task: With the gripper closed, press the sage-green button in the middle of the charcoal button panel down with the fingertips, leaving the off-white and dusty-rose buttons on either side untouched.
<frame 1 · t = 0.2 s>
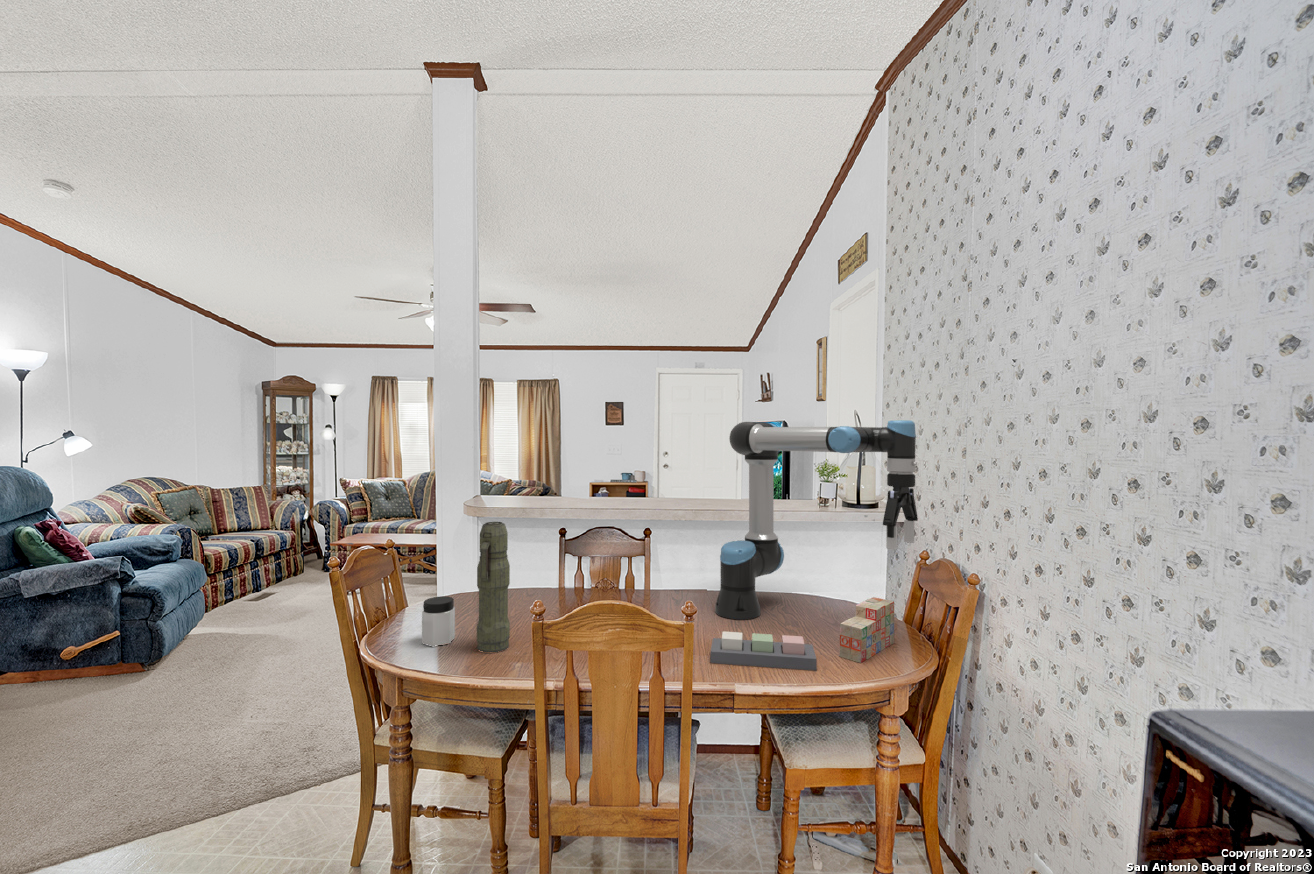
hand: (900, 545, 162), 28 cm above the table, fingers open, 13 cm apart
rose button: (792, 646, 147), point 4 cm above the table, slide at 0.0 cm
button panel: (762, 659, 148), on the table
stack of blocks: (867, 650, 155), on the table
sage button: (762, 644, 148), point 4 cm above the table, slide at 0.0 cm
white button: (732, 642, 149), point 4 cm above the table, slide at 0.0 cm
jar: (438, 642, 159), on the table
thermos: (493, 648, 155), on the table
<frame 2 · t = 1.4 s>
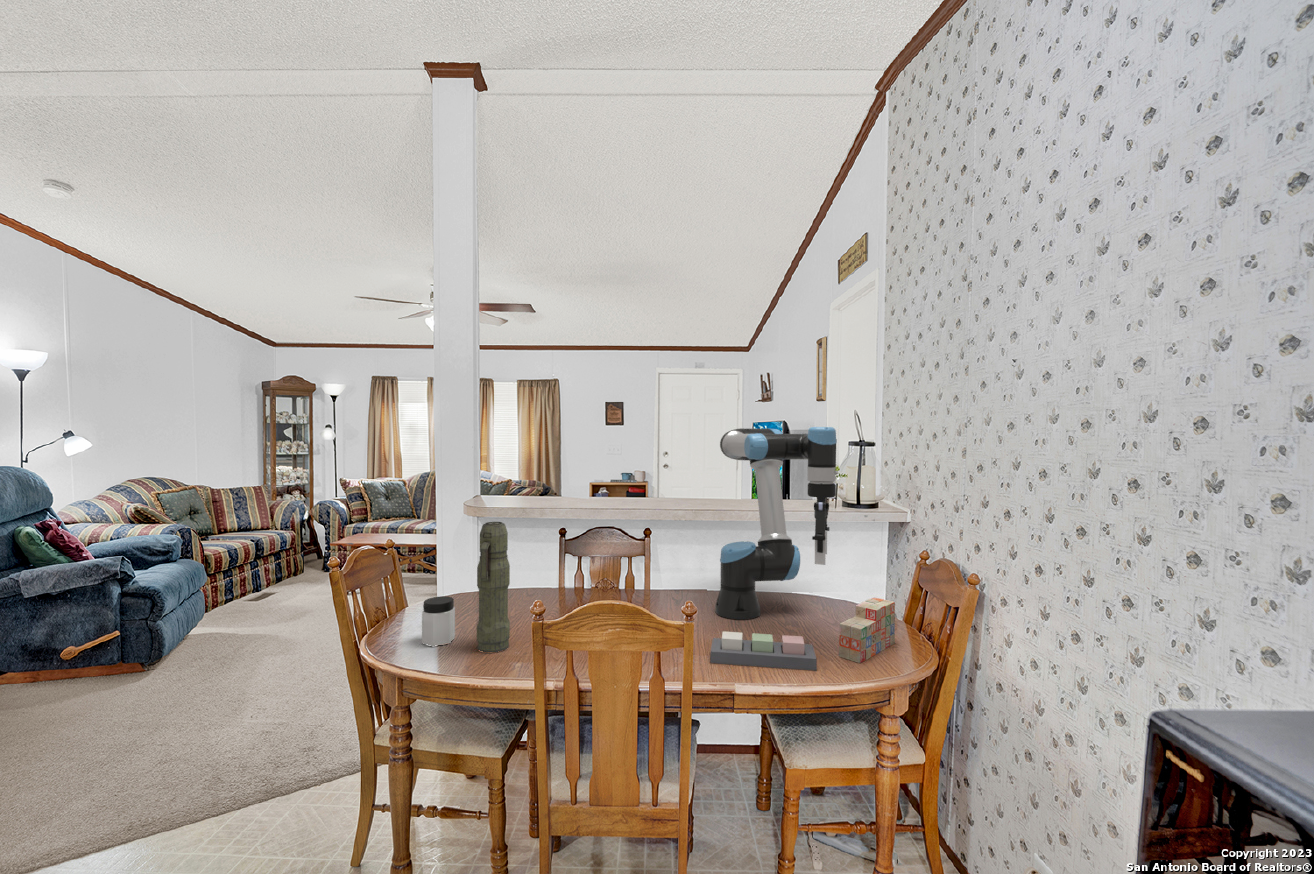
hand: (821, 558, 153), 26 cm above the table, fingers open, 13 cm apart
nothing on the table moved.
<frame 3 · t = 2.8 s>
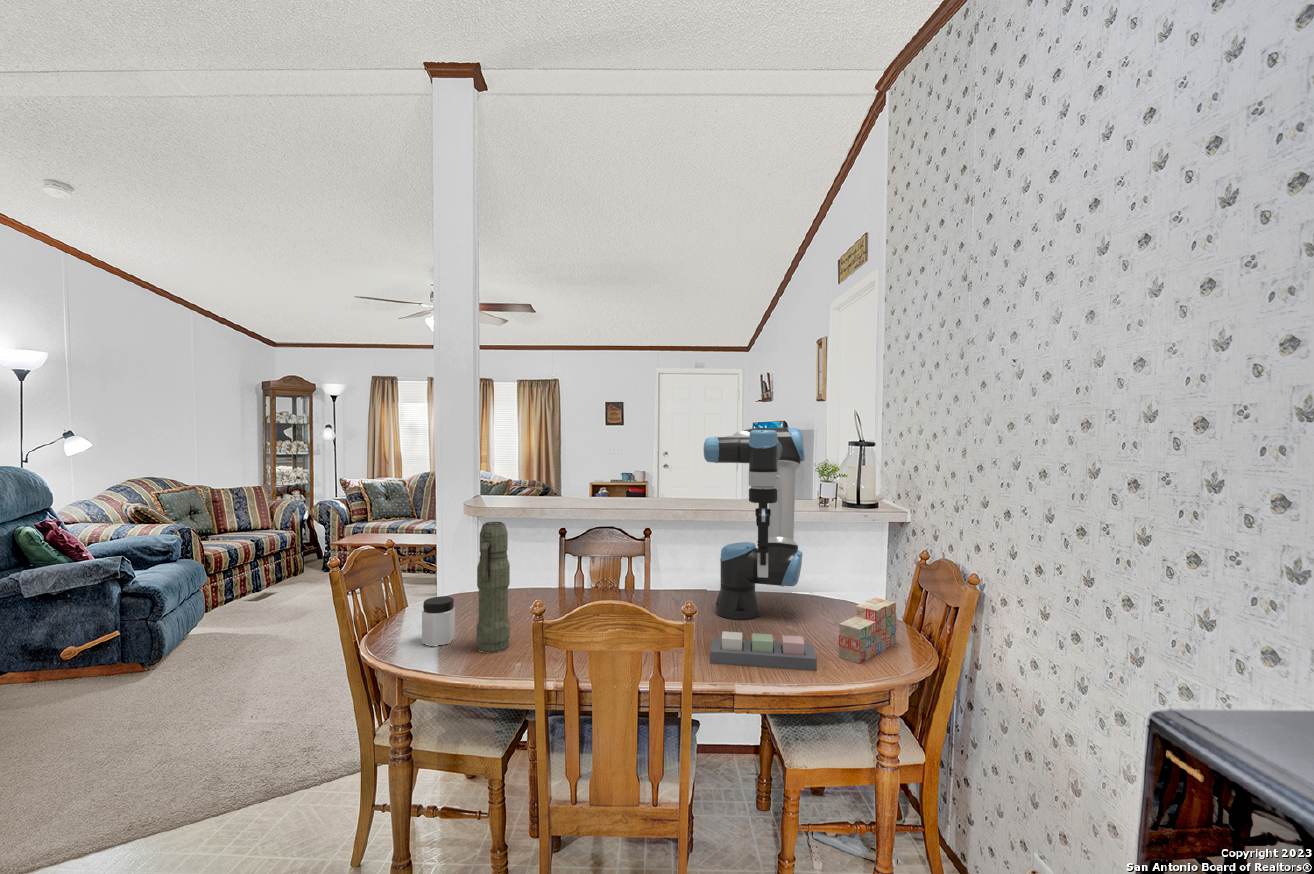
hand: (762, 574, 148), 23 cm above the table, fingers open, 4 cm apart
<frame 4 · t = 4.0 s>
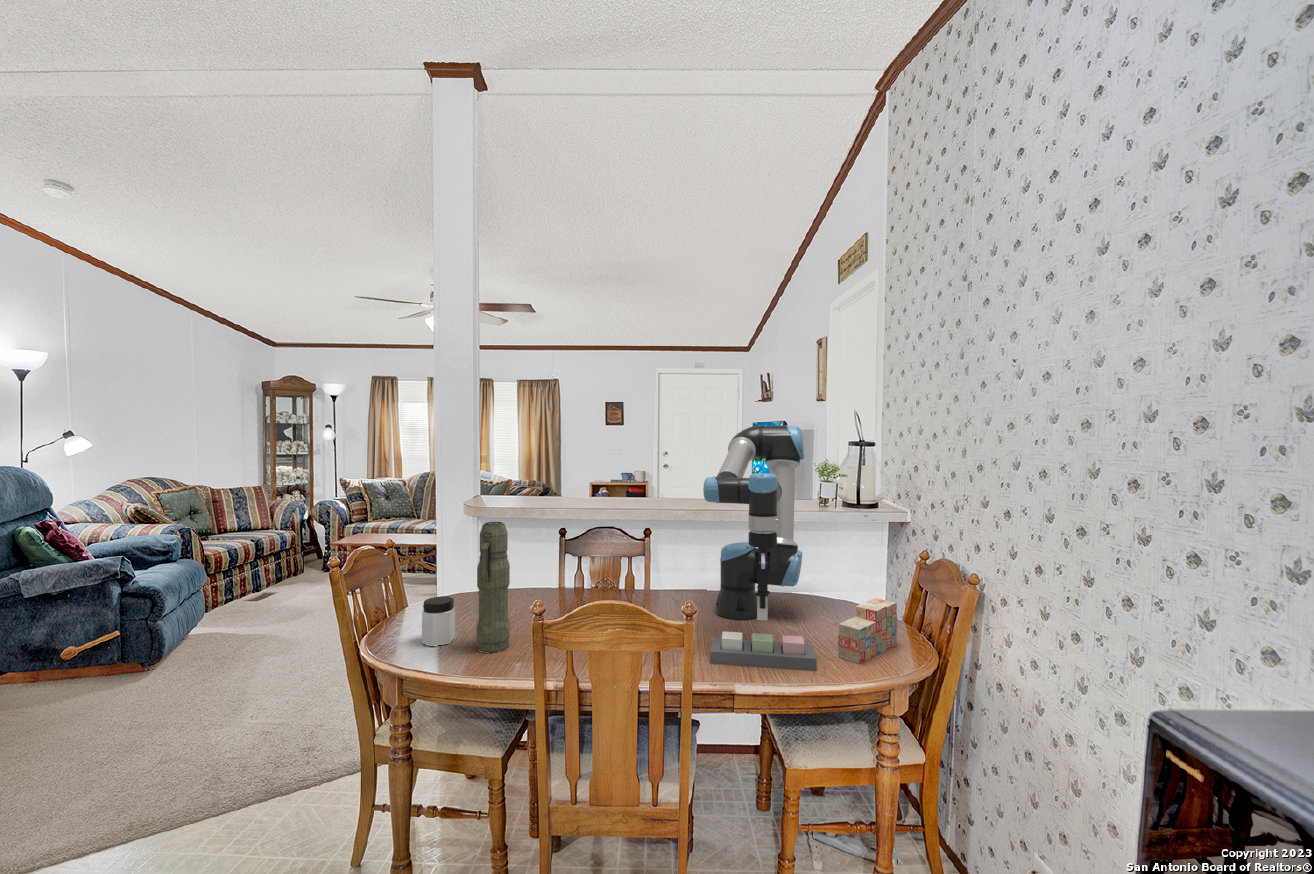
hand: (762, 619, 148), 11 cm above the table, fingers closed
nothing on the table moved.
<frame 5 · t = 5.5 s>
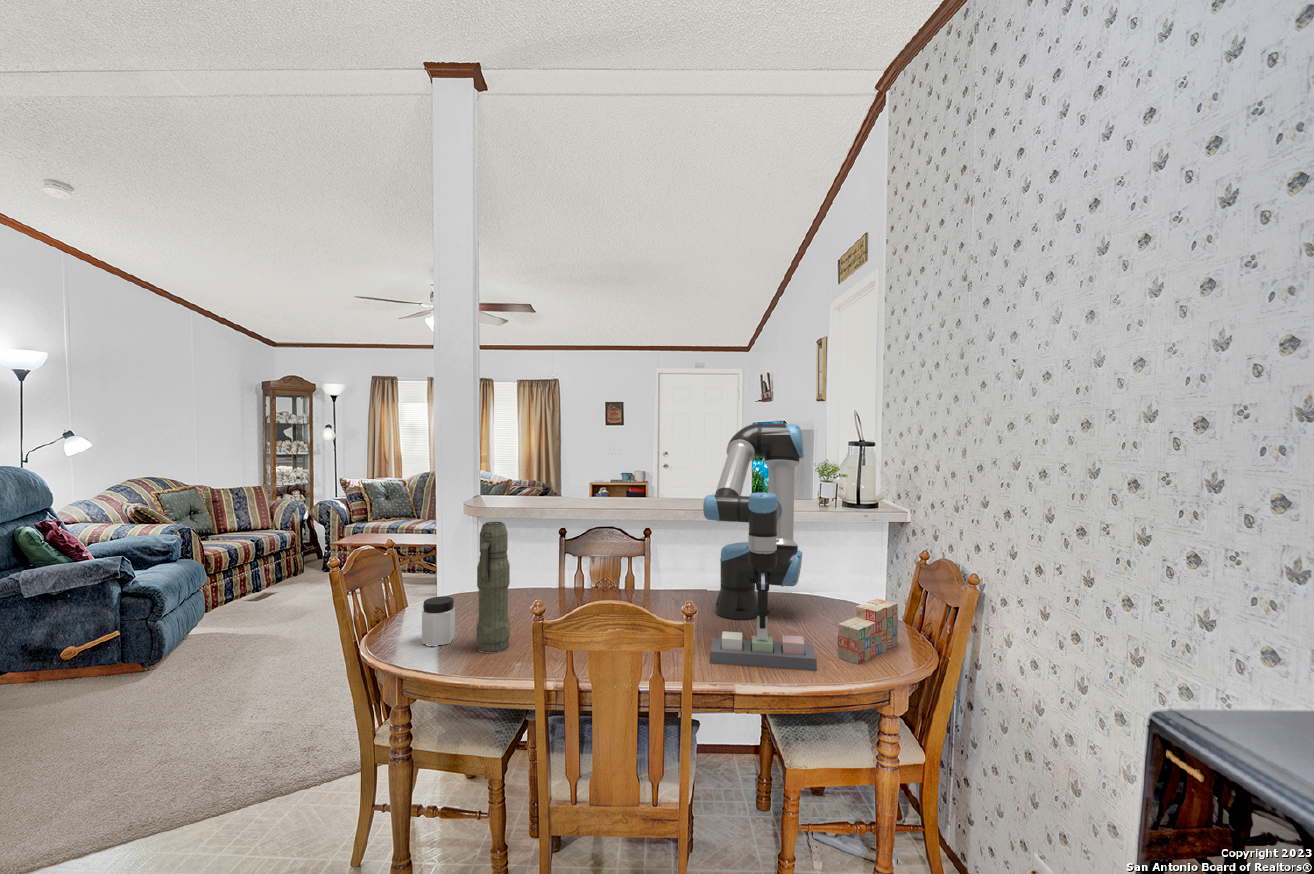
hand: (762, 638, 148), 5 cm above the table, fingers closed
sage button: (762, 647, 148), point 3 cm above the table, slide at 0.7 cm, touching gripper
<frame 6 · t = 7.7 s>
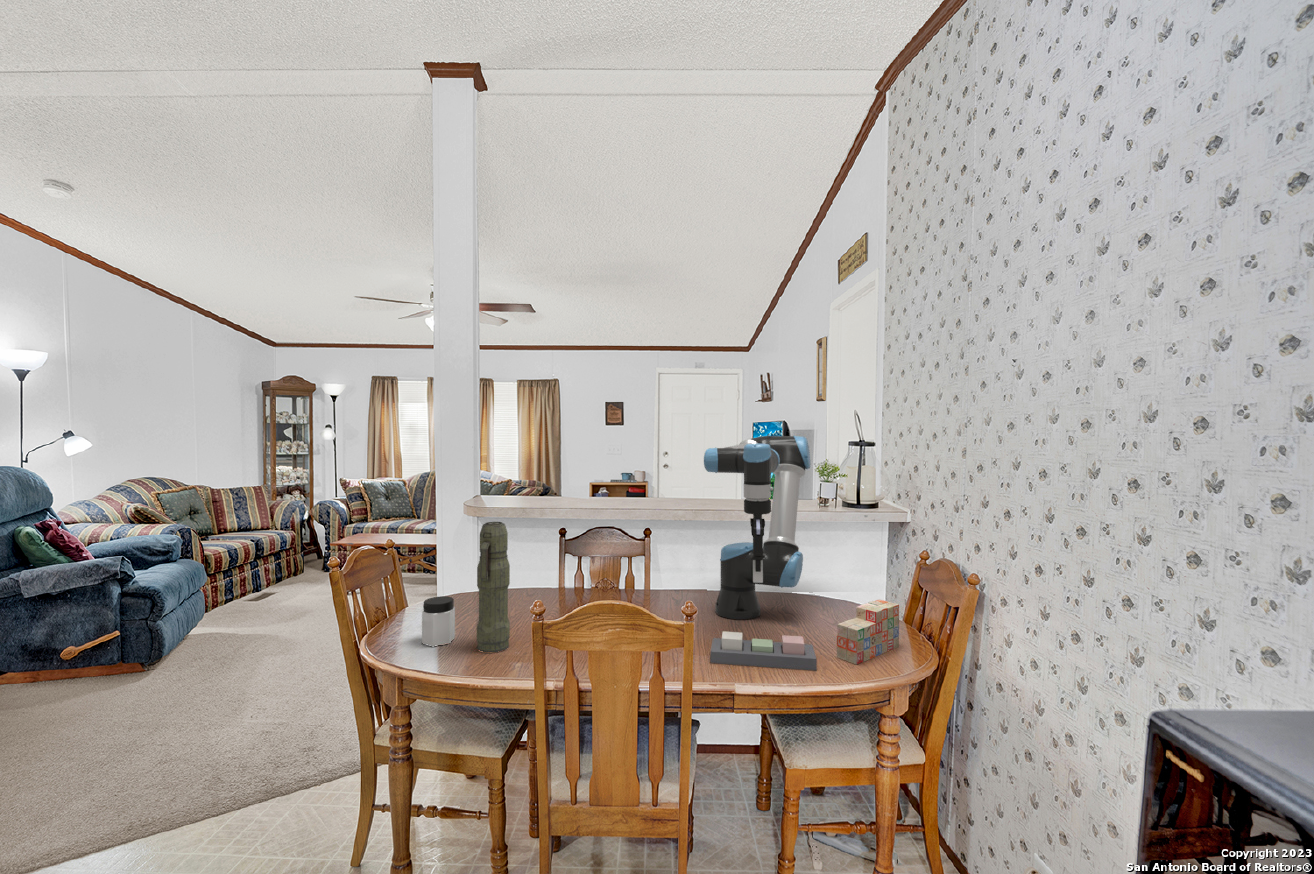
hand: (757, 581, 156), 19 cm above the table, fingers closed
sage button: (762, 650, 148), point 2 cm above the table, slide at 1.4 cm
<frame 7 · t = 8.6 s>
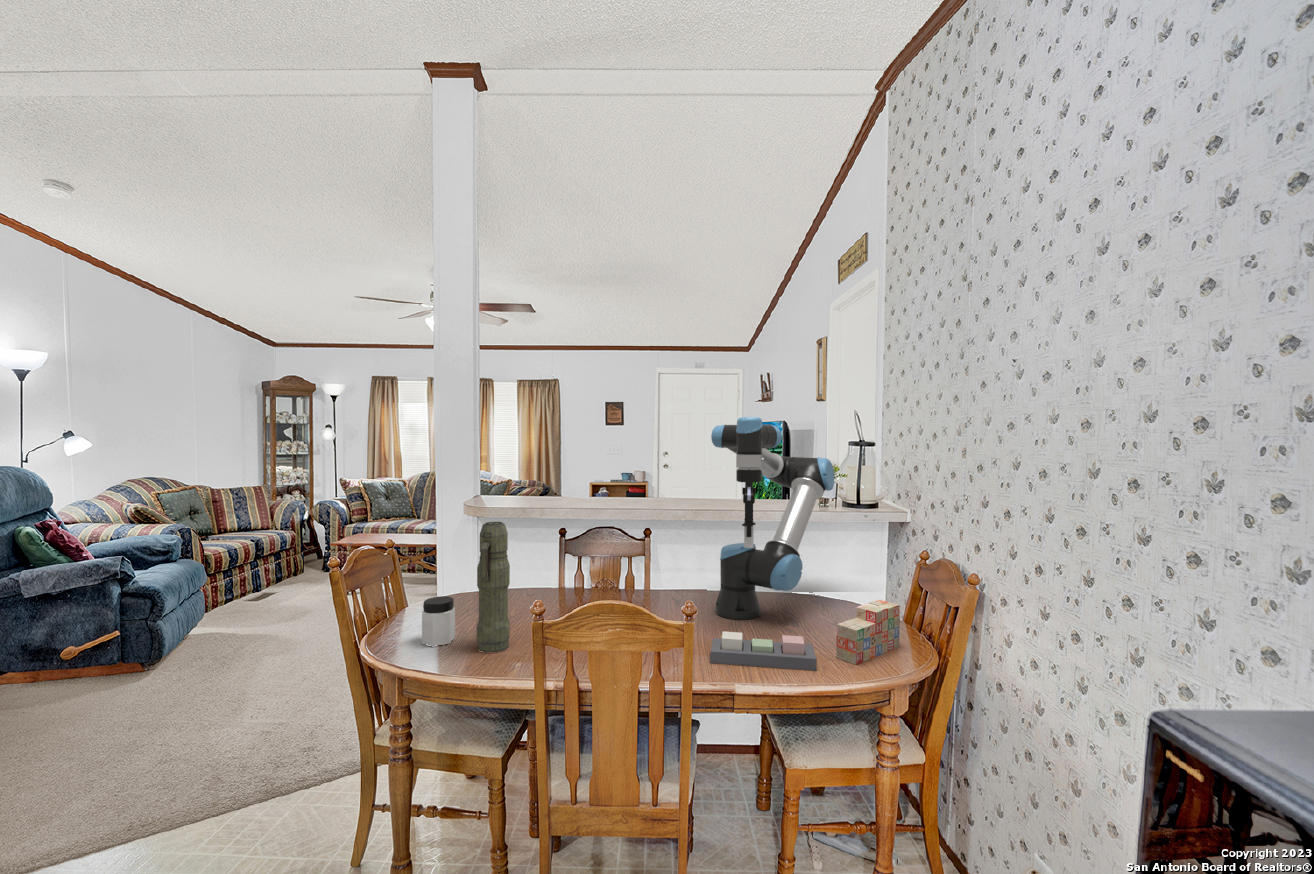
hand: (748, 547, 166), 26 cm above the table, fingers closed
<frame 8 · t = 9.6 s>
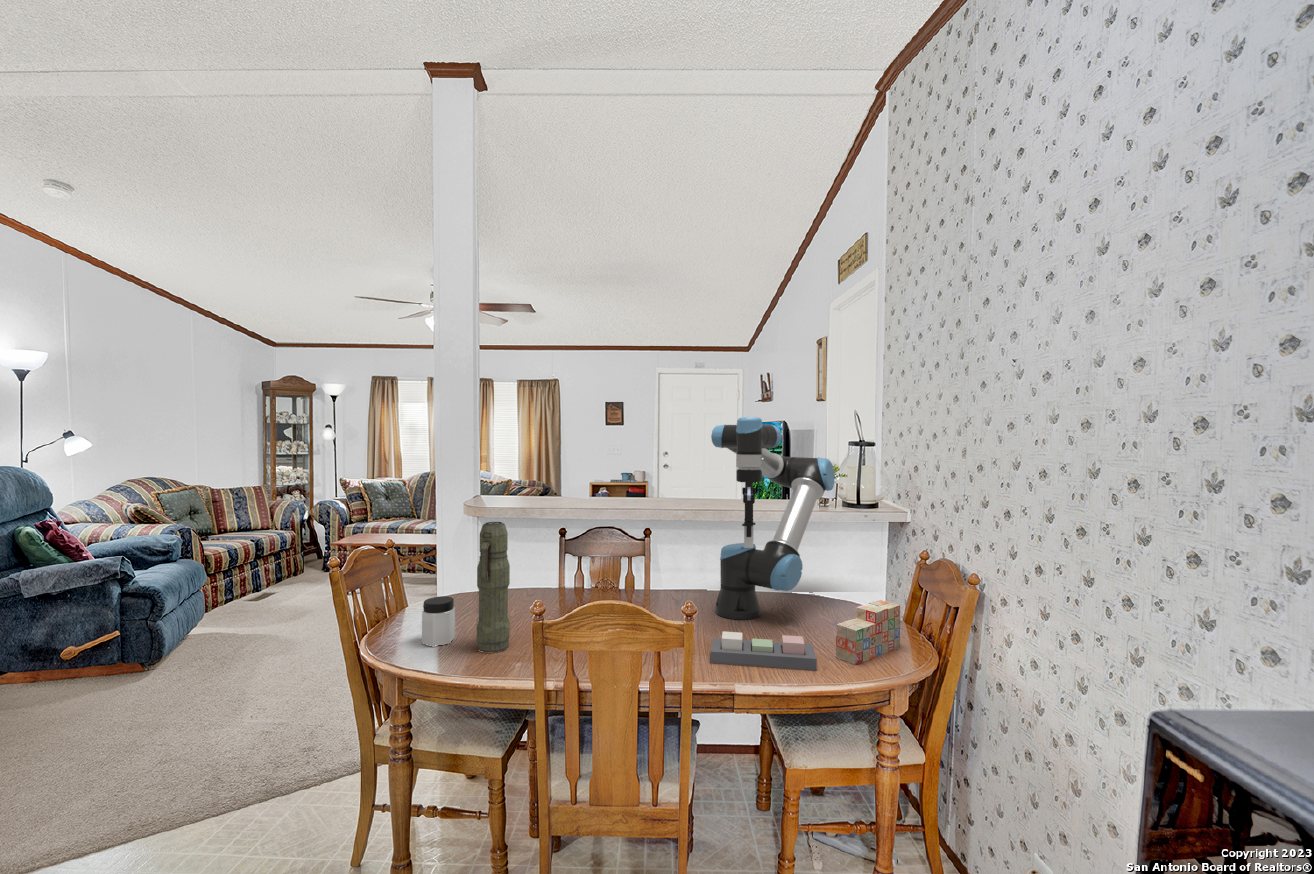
hand: (748, 547, 166), 26 cm above the table, fingers closed
at the end: sage button slide at 1.4 cm; white button slide at 0.0 cm; rose button slide at 0.0 cm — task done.
